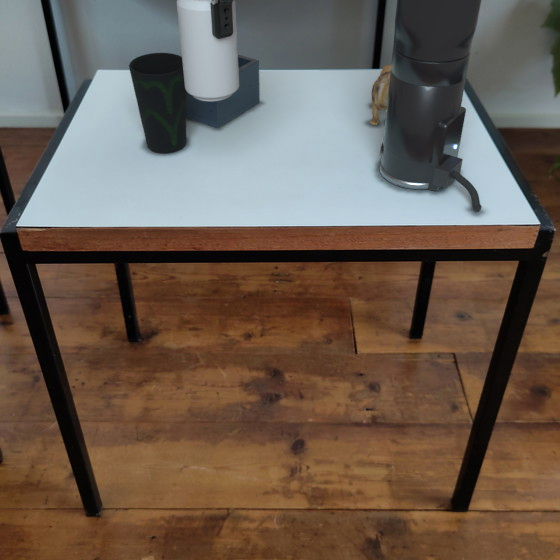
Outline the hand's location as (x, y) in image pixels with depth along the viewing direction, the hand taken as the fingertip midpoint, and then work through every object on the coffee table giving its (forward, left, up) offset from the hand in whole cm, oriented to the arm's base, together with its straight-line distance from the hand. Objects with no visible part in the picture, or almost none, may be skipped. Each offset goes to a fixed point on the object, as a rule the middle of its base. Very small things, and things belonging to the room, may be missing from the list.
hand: (207, 26), depth 81 cm
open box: (+16, -19, -21) cm, 33 cm away
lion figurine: (-8, -32, -22) cm, 39 cm away
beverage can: (0, 0, -8) cm, 8 cm away
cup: (+14, -6, -22) cm, 26 cm away
